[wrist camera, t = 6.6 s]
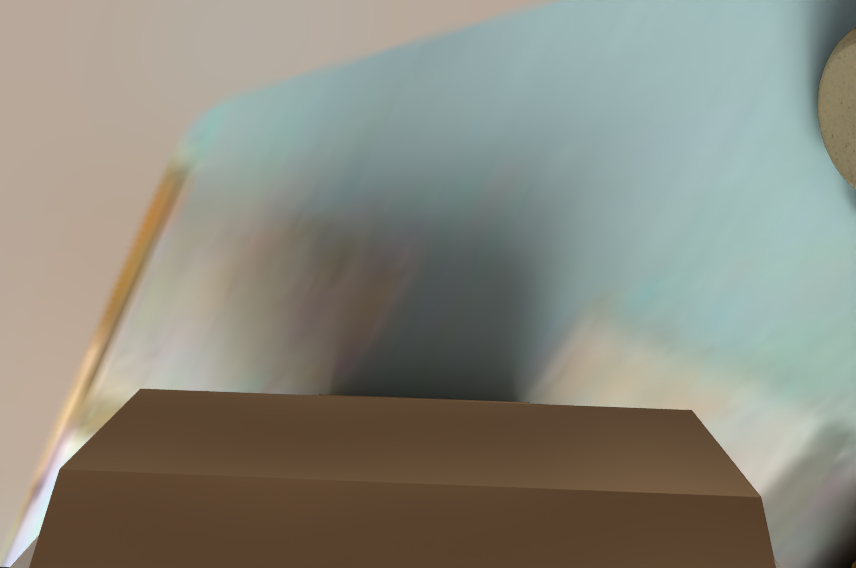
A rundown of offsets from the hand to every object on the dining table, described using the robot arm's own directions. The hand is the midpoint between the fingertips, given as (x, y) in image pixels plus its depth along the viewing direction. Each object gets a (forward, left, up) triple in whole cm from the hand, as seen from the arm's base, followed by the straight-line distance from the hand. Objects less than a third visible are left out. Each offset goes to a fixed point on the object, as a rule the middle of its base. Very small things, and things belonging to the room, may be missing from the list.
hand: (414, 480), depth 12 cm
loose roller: (0, 0, 0) cm, 0 cm away
